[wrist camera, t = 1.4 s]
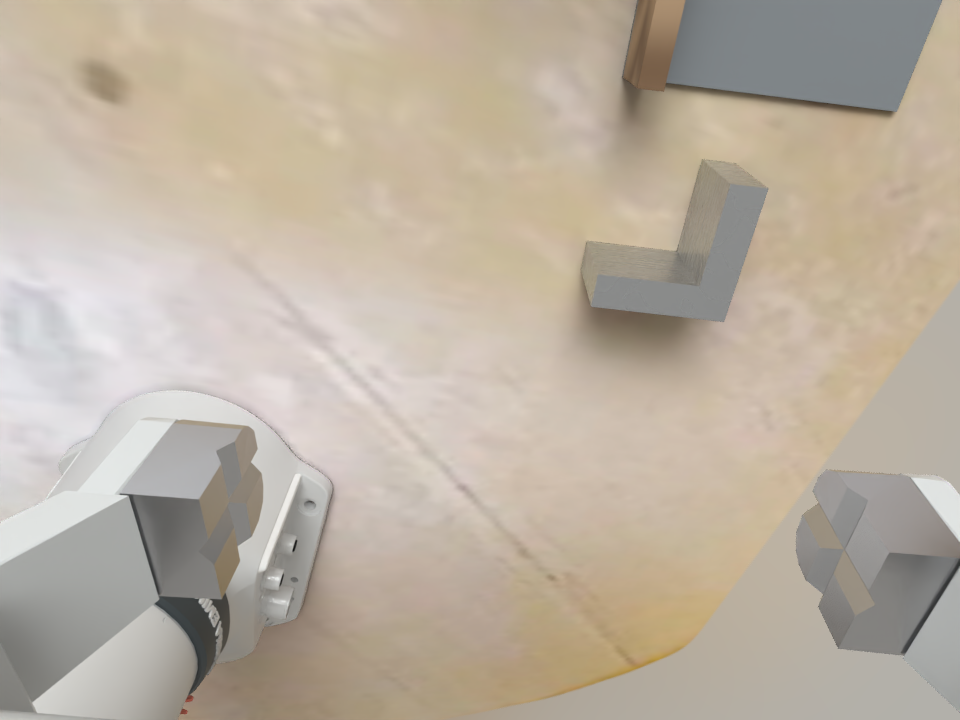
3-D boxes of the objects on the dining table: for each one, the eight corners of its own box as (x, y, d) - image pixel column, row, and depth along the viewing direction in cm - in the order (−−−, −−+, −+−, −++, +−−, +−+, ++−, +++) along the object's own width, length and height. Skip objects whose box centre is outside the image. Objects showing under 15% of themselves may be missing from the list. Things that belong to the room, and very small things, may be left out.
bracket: (698, 283, 38) (724, 321, 34) (580, 269, 38) (590, 306, 34) (735, 163, 35) (768, 188, 30) (605, 147, 35) (620, 170, 30)
